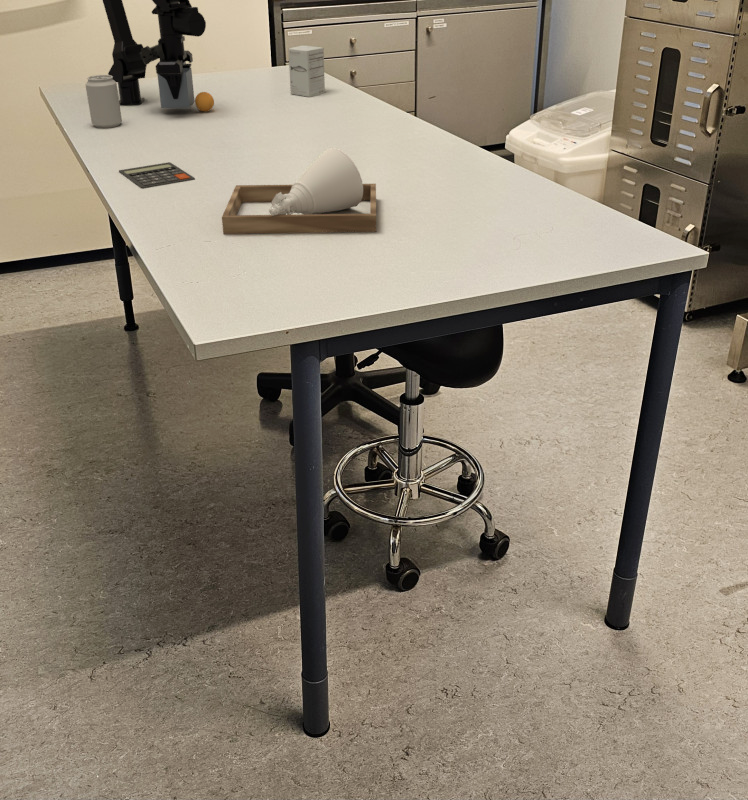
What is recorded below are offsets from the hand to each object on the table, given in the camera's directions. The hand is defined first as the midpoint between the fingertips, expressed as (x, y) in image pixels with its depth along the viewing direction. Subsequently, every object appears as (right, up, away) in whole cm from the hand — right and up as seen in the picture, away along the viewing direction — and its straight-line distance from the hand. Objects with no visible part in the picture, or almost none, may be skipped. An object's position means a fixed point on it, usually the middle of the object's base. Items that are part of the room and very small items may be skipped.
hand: (178, 96), depth 245 cm
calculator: (+6, -34, -50) cm, 61 cm away
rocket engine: (+39, -47, -75) cm, 97 cm away
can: (-16, -11, -10) cm, 22 cm away
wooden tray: (+39, -47, -75) cm, 96 cm away
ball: (+7, -1, +1) cm, 7 cm away
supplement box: (+33, +7, +20) cm, 39 cm away
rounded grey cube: (0, -2, +1) cm, 2 cm away
